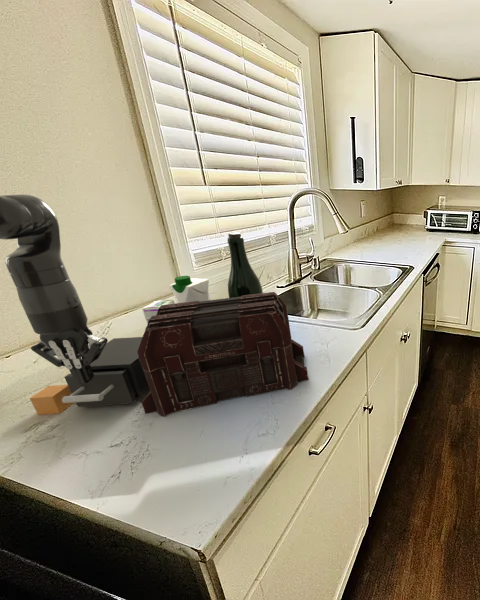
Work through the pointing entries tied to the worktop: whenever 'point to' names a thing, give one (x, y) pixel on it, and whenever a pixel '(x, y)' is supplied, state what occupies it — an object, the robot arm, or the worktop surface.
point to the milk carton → (190, 289)
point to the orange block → (51, 399)
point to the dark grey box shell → (124, 362)
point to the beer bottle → (241, 270)
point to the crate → (218, 352)
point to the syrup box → (154, 308)
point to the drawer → (102, 388)
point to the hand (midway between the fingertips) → (86, 381)
